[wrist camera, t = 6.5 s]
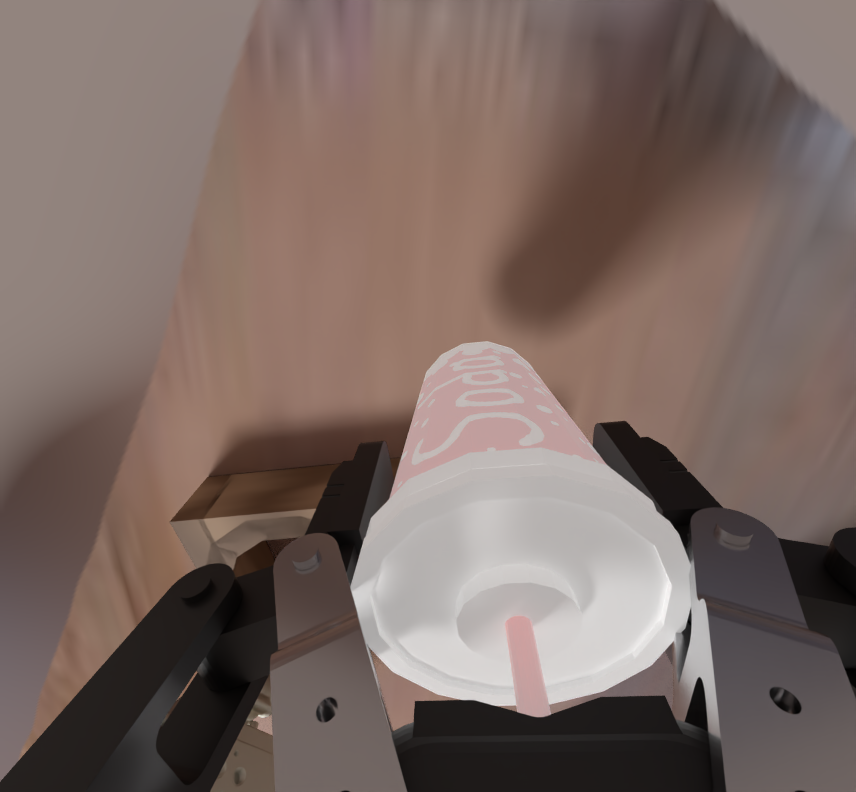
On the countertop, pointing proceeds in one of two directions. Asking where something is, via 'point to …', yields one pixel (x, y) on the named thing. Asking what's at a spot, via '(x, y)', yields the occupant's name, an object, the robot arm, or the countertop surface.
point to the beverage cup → (514, 548)
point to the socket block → (250, 515)
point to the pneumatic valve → (248, 753)
